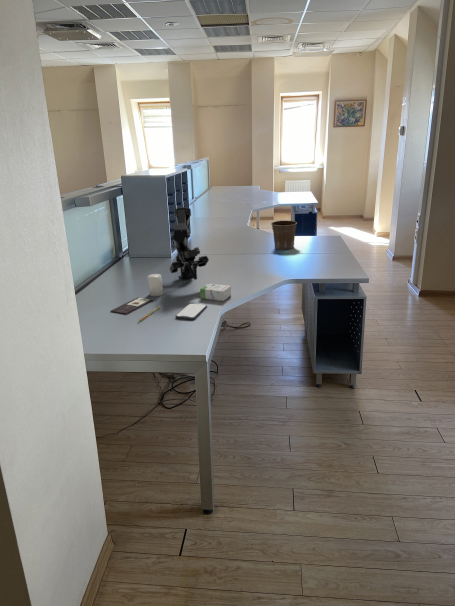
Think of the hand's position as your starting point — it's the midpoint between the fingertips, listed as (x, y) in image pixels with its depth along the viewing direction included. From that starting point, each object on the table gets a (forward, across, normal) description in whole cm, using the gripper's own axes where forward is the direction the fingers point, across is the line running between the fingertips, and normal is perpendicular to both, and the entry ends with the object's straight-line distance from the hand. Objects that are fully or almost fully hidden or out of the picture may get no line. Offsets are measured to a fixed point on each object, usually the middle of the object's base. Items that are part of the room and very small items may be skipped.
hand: (196, 279), depth 210 cm
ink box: (+7, +1, -2) cm, 7 cm away
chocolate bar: (+4, -32, +6) cm, 32 cm away
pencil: (+14, -30, -4) cm, 33 cm away
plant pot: (-24, +85, +36) cm, 96 cm away
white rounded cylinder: (-3, -16, +12) cm, 21 cm away
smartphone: (+20, -14, -10) cm, 26 cm away
